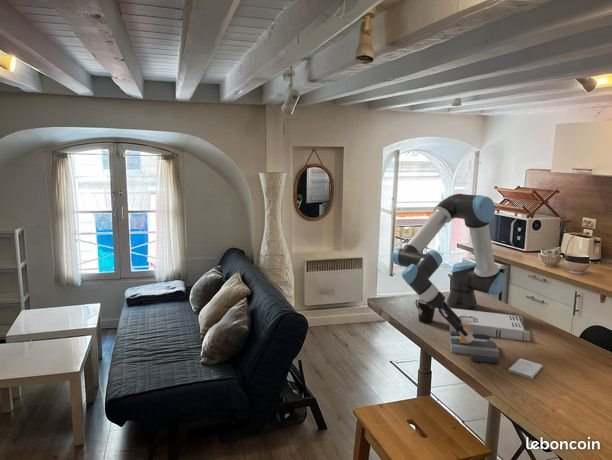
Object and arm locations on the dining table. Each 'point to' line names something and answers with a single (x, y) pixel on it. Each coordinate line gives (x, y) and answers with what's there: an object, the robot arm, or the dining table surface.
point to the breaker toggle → (466, 325)
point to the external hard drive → (525, 368)
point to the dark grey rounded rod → (476, 336)
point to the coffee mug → (424, 311)
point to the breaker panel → (474, 347)
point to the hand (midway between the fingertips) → (471, 338)
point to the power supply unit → (494, 324)
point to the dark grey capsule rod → (484, 359)
